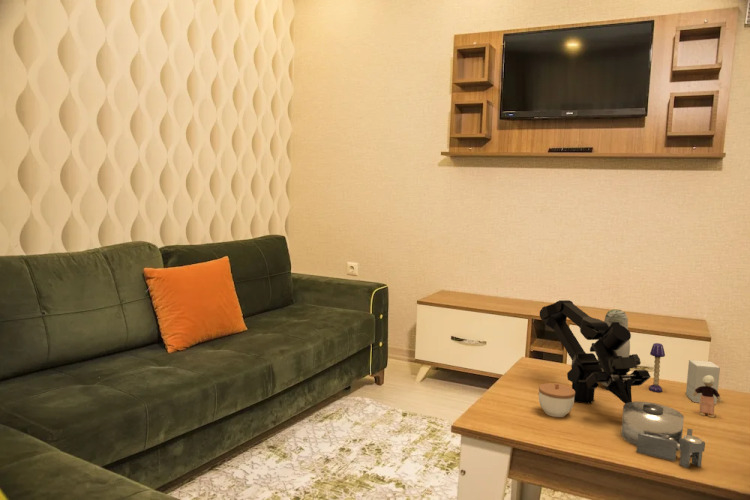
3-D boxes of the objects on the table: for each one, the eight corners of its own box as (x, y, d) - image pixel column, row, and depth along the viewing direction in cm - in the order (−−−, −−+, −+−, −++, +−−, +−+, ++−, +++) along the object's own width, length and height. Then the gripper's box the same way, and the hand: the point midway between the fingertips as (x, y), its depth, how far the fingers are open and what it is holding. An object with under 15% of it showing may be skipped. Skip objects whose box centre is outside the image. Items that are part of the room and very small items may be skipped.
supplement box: (717, 404, 183) (720, 367, 181) (692, 402, 184) (696, 365, 183) (708, 397, 190) (712, 361, 189) (685, 394, 191) (688, 359, 190)
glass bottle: (592, 381, 202) (598, 306, 199) (621, 383, 201) (627, 307, 198) (599, 390, 192) (605, 311, 190) (630, 393, 191) (636, 313, 188)
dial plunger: (666, 446, 145) (666, 437, 145) (673, 445, 146) (674, 437, 146) (686, 459, 139) (687, 449, 138) (694, 458, 139) (695, 449, 139)
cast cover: (620, 443, 150) (623, 411, 149) (621, 424, 164) (624, 394, 163) (683, 456, 144) (686, 422, 143) (679, 434, 157) (682, 403, 156)
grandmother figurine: (718, 414, 174) (722, 375, 172) (720, 419, 170) (724, 379, 169) (690, 410, 177) (694, 371, 176) (691, 414, 173) (695, 375, 172)
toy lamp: (656, 393, 192) (660, 346, 190) (644, 388, 196) (648, 343, 194) (665, 391, 194) (669, 345, 192) (652, 387, 198) (656, 341, 196)
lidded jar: (579, 413, 171) (581, 384, 170) (564, 423, 163) (566, 392, 162) (546, 404, 178) (548, 375, 177) (530, 412, 170) (532, 383, 169)
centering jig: (634, 450, 146) (636, 425, 146) (688, 445, 150) (690, 421, 150) (667, 472, 135) (669, 444, 134) (724, 466, 139) (727, 439, 139)
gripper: (594, 345, 162) (616, 395, 152) (648, 343, 166) (673, 391, 157) (576, 363, 170) (596, 412, 160) (628, 361, 175) (651, 408, 165)
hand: (630, 405), depth 160 cm, fingers closed
